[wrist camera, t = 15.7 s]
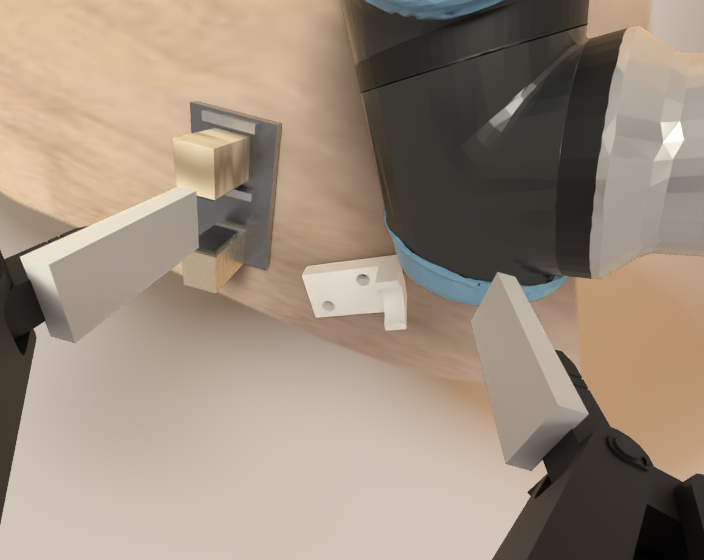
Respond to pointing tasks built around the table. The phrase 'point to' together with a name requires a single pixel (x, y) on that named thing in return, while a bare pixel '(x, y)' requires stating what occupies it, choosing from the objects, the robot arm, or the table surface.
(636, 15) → the table surface
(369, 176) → the table surface
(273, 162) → the grey base stand
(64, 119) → the table surface
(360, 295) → the bracket
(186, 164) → the wooden block
